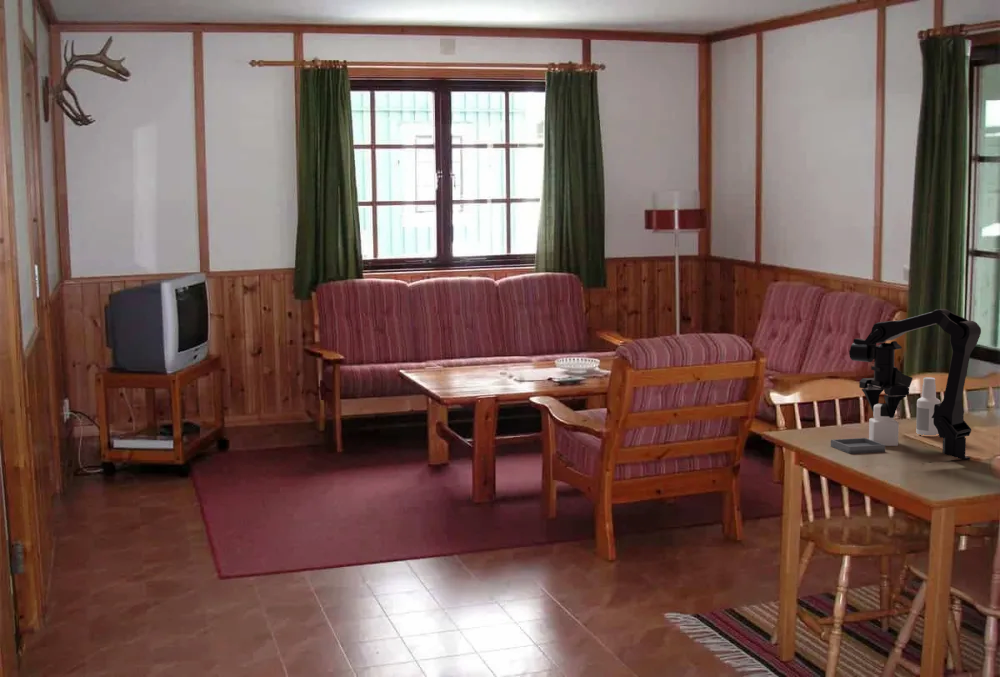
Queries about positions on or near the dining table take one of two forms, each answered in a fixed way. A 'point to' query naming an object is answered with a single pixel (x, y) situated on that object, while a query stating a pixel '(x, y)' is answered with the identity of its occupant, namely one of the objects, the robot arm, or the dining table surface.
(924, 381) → the spray bottle
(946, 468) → the dining table surface
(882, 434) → the medicine bottle
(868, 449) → the tray
